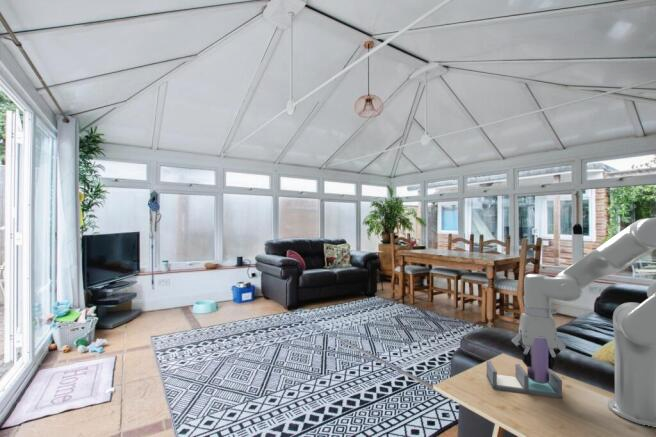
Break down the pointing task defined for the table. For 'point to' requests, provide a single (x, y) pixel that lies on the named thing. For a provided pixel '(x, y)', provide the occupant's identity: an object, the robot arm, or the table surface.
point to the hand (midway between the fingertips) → (538, 365)
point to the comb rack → (524, 382)
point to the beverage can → (539, 361)
